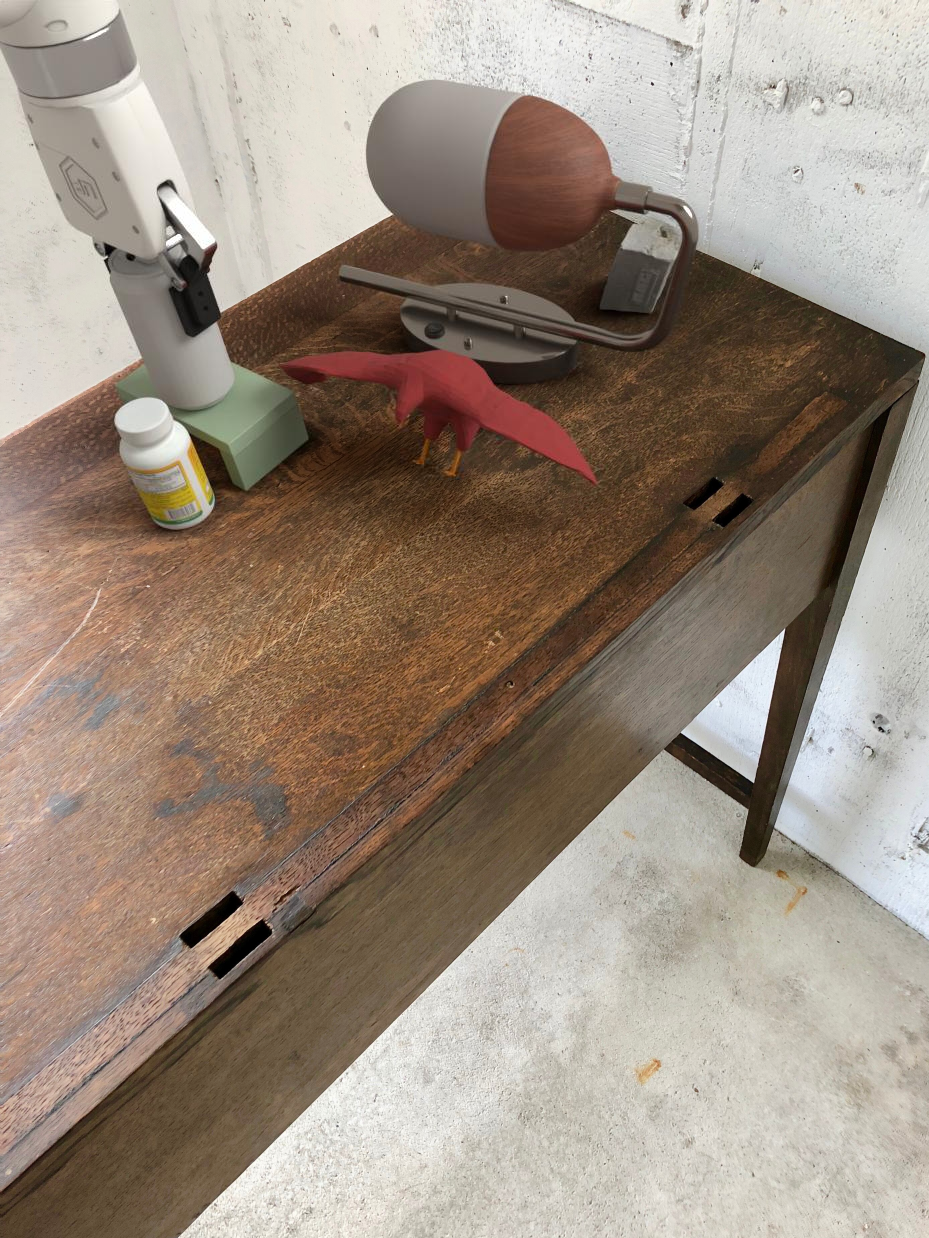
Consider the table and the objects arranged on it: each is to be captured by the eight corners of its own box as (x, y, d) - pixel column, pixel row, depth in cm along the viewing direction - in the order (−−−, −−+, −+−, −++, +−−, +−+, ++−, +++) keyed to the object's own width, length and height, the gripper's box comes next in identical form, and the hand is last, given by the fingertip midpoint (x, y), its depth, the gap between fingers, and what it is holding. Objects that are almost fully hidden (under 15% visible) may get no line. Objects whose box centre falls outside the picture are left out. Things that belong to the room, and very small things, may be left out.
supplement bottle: (189, 539, 76) (144, 447, 68) (138, 520, 78) (88, 427, 70) (230, 495, 79) (191, 401, 71) (179, 477, 80) (136, 384, 73)
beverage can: (204, 359, 82) (153, 222, 72) (253, 385, 79) (207, 245, 69) (144, 398, 79) (84, 259, 69) (193, 426, 76) (137, 286, 67)
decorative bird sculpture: (340, 434, 89) (235, 403, 75) (369, 335, 87) (267, 285, 73) (612, 534, 79) (550, 519, 65) (652, 426, 77) (597, 387, 64)
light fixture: (333, 35, 78) (735, 98, 68) (379, 276, 96) (704, 356, 85) (256, 93, 73) (679, 172, 62) (320, 337, 91) (658, 431, 80)
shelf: (136, 431, 84) (113, 384, 80) (199, 384, 88) (180, 337, 84) (246, 491, 79) (227, 444, 75) (309, 439, 82) (294, 391, 78)
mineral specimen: (590, 325, 88) (592, 233, 82) (611, 291, 94) (614, 203, 88) (670, 332, 86) (677, 239, 81) (686, 296, 92) (694, 207, 87)
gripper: (-61, 51, 61) (64, 303, 75) (114, 112, 54) (214, 376, 68) (34, 6, 64) (136, 257, 78) (210, 59, 57) (286, 322, 72)
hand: (172, 310), depth 73 cm, fingers closed on beverage can, 6 cm apart
